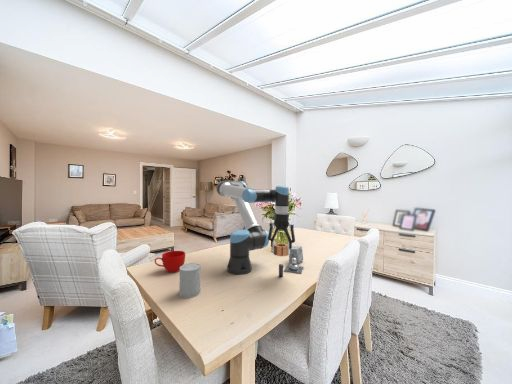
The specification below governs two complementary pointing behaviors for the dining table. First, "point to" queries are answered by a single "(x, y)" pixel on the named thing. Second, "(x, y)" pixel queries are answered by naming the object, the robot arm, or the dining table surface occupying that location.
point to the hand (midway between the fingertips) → (281, 253)
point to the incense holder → (296, 254)
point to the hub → (294, 267)
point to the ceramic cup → (172, 260)
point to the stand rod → (280, 270)
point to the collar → (281, 249)
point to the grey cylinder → (189, 280)
